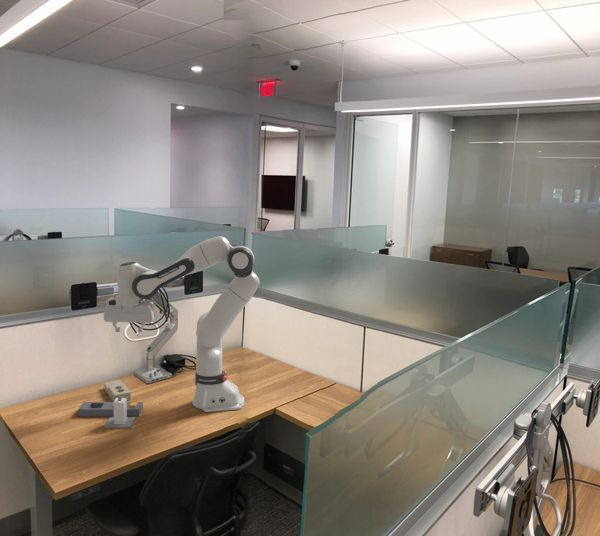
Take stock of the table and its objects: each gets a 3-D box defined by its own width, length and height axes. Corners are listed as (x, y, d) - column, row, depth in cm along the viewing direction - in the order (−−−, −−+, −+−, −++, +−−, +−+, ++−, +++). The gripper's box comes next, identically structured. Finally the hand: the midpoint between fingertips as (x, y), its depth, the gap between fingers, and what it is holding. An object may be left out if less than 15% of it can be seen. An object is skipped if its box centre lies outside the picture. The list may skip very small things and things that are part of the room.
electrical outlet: (119, 377, 238) (130, 391, 224) (120, 386, 239) (131, 400, 224) (103, 380, 234) (114, 395, 220) (104, 389, 235) (114, 404, 220)
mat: (135, 418, 207) (135, 417, 207) (130, 428, 199) (130, 426, 199) (110, 418, 206) (110, 417, 206) (104, 428, 199) (104, 426, 198)
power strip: (142, 408, 216) (142, 400, 216) (139, 416, 209) (139, 407, 209) (84, 408, 214) (83, 400, 214) (78, 416, 207) (78, 407, 207)
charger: (126, 419, 205) (126, 394, 203) (124, 424, 201) (123, 398, 199) (116, 419, 205) (116, 394, 203) (113, 424, 201) (113, 398, 199)
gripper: (155, 298, 220) (155, 330, 222) (106, 297, 218) (107, 329, 220) (152, 302, 214) (152, 334, 216) (101, 301, 212) (102, 333, 214)
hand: (129, 331), depth 218 cm, fingers open, 8 cm apart
